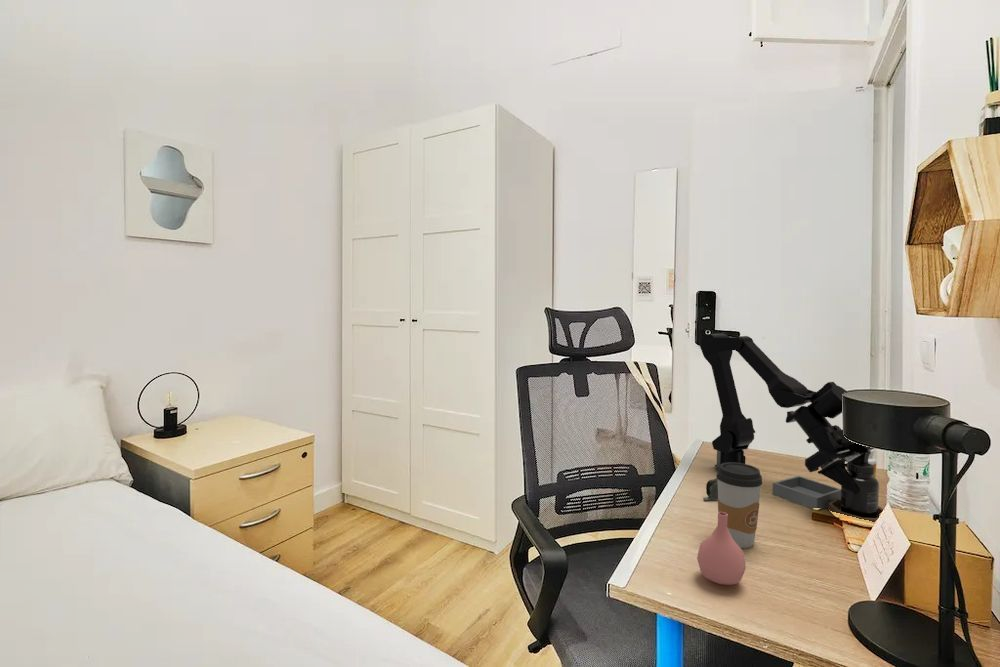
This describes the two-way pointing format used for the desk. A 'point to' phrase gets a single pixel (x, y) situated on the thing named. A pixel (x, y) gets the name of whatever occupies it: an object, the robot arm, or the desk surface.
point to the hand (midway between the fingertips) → (866, 489)
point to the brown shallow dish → (837, 503)
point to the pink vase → (721, 555)
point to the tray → (806, 492)
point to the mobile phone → (712, 490)
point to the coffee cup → (739, 500)
